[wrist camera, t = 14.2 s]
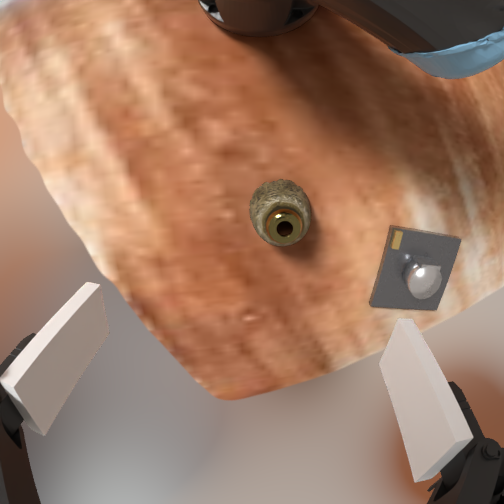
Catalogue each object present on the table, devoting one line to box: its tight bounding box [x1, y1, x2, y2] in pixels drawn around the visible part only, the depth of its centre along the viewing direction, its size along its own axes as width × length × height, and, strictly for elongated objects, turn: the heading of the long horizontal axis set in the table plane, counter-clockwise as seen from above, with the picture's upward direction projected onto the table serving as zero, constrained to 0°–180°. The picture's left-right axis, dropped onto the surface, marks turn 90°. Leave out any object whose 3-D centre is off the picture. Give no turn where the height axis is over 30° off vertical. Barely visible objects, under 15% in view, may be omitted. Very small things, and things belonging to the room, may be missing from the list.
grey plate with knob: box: [369, 225, 461, 310], centre depth 38 cm, size 12×12×4 cm
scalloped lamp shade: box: [250, 179, 311, 246], centre depth 34 cm, size 8×7×8 cm
